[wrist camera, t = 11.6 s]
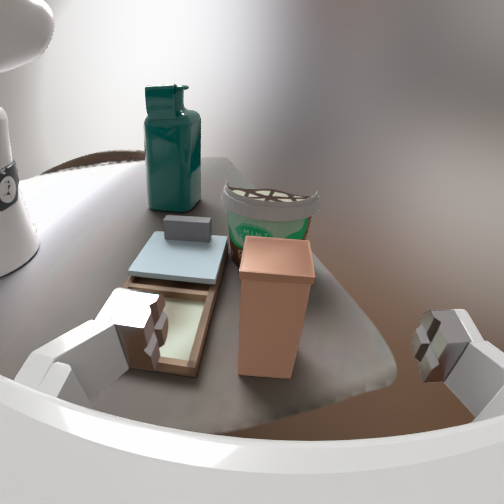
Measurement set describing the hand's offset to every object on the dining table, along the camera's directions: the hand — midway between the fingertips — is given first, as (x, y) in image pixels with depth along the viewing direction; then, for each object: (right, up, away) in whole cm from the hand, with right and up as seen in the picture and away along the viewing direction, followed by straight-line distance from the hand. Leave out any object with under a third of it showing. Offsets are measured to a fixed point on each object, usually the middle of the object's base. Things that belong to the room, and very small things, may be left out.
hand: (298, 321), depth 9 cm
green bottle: (-16, +11, +48) cm, 51 cm away
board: (-11, -3, +26) cm, 28 cm away
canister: (0, -8, +19) cm, 20 cm away
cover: (-10, +1, +29) cm, 31 cm away
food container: (0, 0, +32) cm, 32 cm away
